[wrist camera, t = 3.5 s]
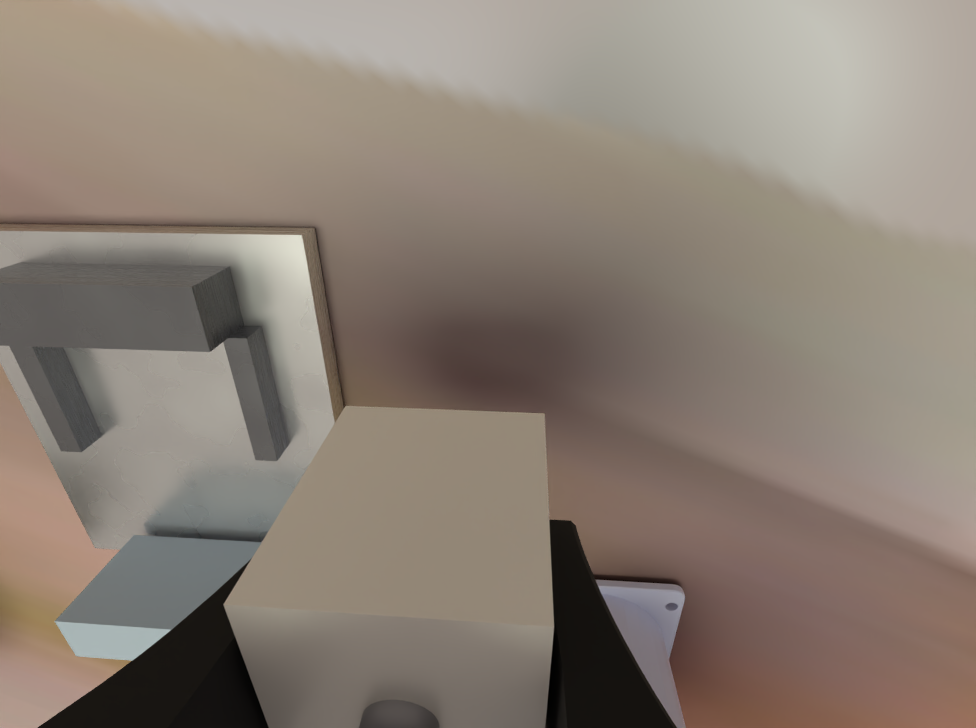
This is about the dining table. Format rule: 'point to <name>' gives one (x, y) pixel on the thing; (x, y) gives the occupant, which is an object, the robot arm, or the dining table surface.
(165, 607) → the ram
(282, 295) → the press frame
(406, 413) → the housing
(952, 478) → the dining table surface
